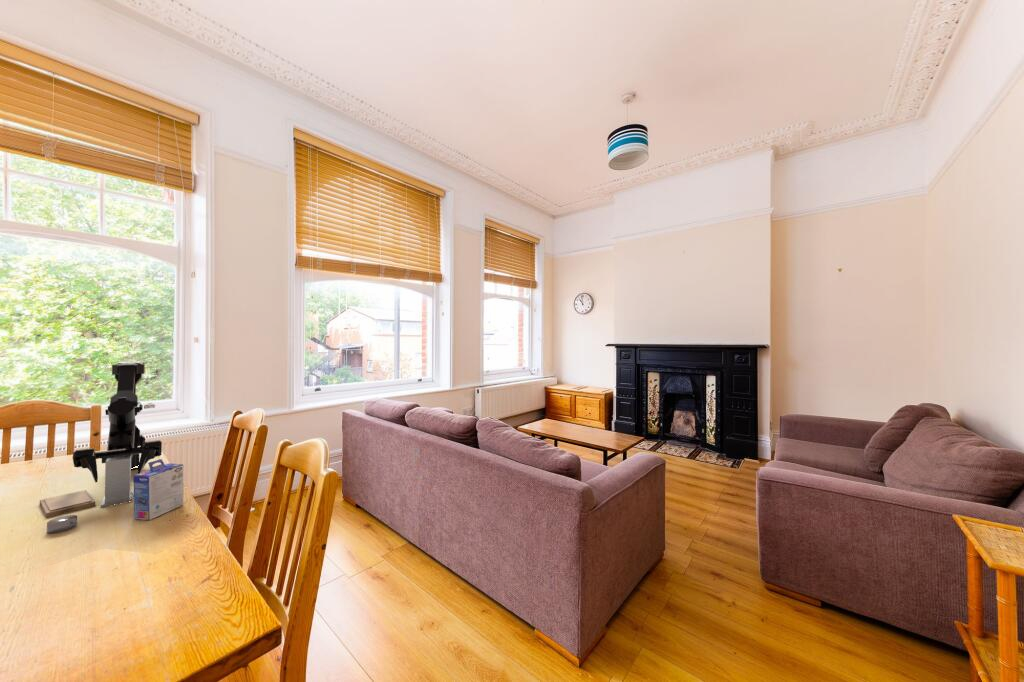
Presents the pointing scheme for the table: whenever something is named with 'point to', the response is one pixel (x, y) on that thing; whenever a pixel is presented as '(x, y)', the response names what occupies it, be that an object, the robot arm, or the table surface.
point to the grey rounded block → (61, 524)
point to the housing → (117, 480)
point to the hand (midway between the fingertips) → (117, 478)
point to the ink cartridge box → (158, 490)
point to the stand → (66, 503)
